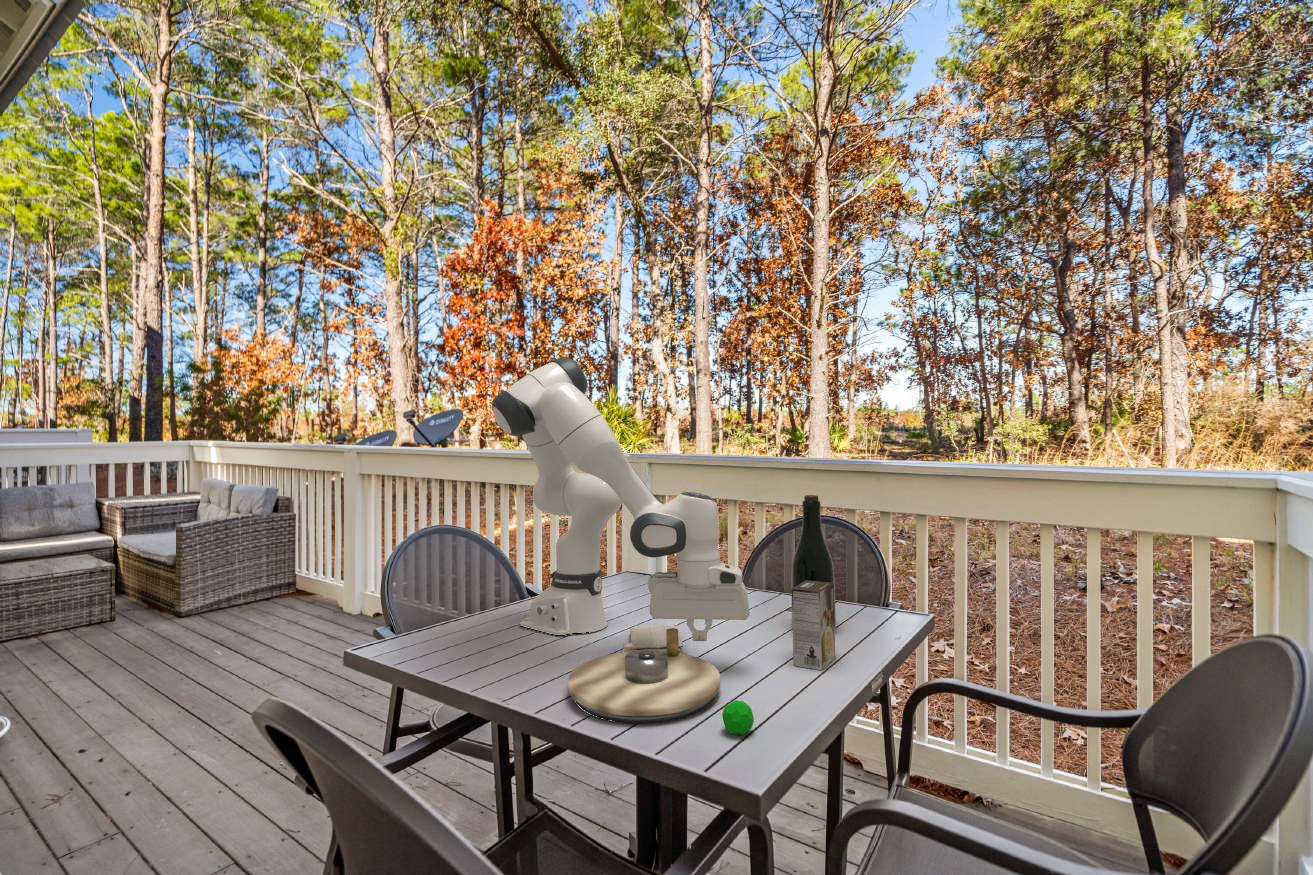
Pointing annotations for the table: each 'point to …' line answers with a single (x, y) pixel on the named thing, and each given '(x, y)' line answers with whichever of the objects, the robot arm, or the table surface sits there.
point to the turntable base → (646, 719)
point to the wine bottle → (812, 549)
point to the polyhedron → (738, 717)
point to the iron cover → (646, 666)
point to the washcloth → (652, 638)
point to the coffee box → (813, 624)
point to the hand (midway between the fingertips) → (699, 640)
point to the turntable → (614, 694)
